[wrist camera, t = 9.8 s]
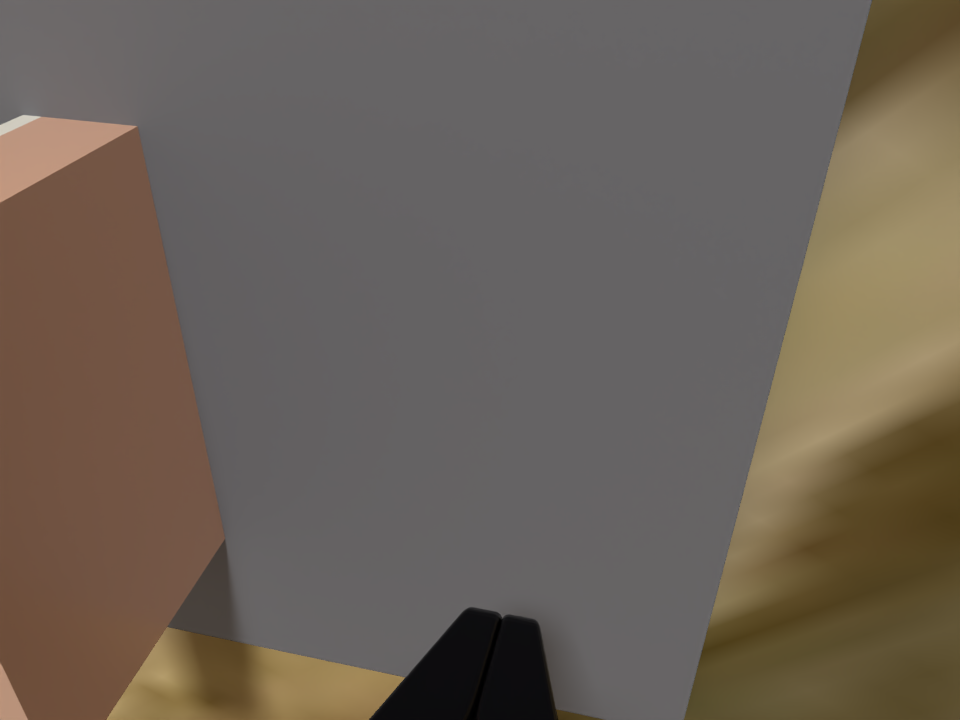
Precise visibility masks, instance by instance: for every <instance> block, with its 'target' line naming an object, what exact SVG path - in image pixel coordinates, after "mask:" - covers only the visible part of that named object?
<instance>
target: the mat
mask: <svg viewBox="0 0 960 720" xmlns="http://www.w3.org/2000/svg"><path fill="white" fill-rule="evenodd" d="M871 2H872V0H0V125H1V124H4V123H6V122H8V121H10V120H13V119H15V118H17V117H19V116H22V115H29V116H39V117H49V118H60V119H70V120H80V121H90V122H100V123H110V124H121V125H131V126H138V130H139V135H140V140H141V144H142V149H143V154H144V159H145V163H146V168H147V173H148V177H149V182H150V187H151V192H152V196H153V201H154V206H155V210H156V215H157V220H158V224H159V229H160V234H161V239H162V243H163V248H164V253H165V257H166V262H167V267H168V271H169V276H170V281H171V286H172V290H173V295H174V300H175V304H176V309H177V314H178V319H179V323H180V328H181V333H182V337H183V342H184V347H185V351H186V356H187V361H188V366H189V370H190V375H191V380H192V384H193V389H194V394H195V399H196V403H197V408H198V413H199V417H200V422H201V427H202V431H203V436H204V441H205V446H206V450H207V455H208V460H209V464H210V469H211V474H212V478H213V483H214V488H215V493H216V497H217V502H218V507H219V511H220V516H221V521H222V526H223V530H224V535H225V540H224V541H223V543H222V544H221V546H220V547H219V549H218V550H217V552H216V553H215V555H214V556H213V558H212V559H211V561H210V562H209V564H208V565H207V567H206V568H205V570H204V571H203V573H202V574H201V576H200V578H199V579H198V581H197V582H196V584H195V585H194V587H193V588H192V590H191V591H190V593H189V594H188V596H187V597H186V599H185V600H184V602H183V603H182V605H181V606H180V608H179V609H178V611H177V612H176V614H175V616H174V617H173V619H172V620H171V622H170V623H169V625H168V626H167V627H170V628H175V629H179V630H184V631H189V632H194V633H198V634H203V635H208V636H212V637H217V638H222V639H227V640H231V641H236V642H241V643H246V644H250V645H255V646H260V647H264V648H269V649H274V650H279V651H283V652H288V653H293V654H298V655H302V656H307V657H312V658H316V659H321V660H326V661H331V662H335V663H340V664H345V665H350V666H354V667H359V668H364V669H369V670H373V671H378V672H383V673H387V674H392V675H397V676H402V677H406V676H407V675H408V674H409V673H410V672H411V671H412V669H413V668H414V667H415V666H416V665H417V664H418V662H419V661H420V660H421V659H422V658H423V657H424V656H425V654H426V653H427V652H428V651H429V650H430V649H431V647H432V646H433V645H434V644H435V643H436V642H437V641H438V639H439V638H440V637H441V636H442V635H443V634H444V632H445V631H446V630H447V629H448V628H449V627H450V625H451V624H452V623H453V622H454V621H455V620H456V619H457V617H458V616H459V615H460V614H461V613H462V612H463V611H464V610H465V609H467V608H469V607H475V608H480V609H485V610H491V611H496V612H498V613H500V614H501V616H502V618H503V617H504V616H505V615H508V614H511V615H516V616H522V617H527V618H532V619H535V620H536V621H538V623H539V625H540V629H541V634H542V639H543V644H544V650H545V655H546V660H547V665H548V670H549V676H550V681H551V686H552V691H553V696H554V701H555V707H556V709H558V710H562V711H567V712H572V713H577V714H581V715H586V716H591V717H596V718H600V719H605V720H684V717H685V713H686V709H687V705H688V701H689V698H690V694H691V690H692V686H693V682H694V679H695V675H696V671H697V667H698V663H699V659H700V656H701V652H702V648H703V644H704V640H705V637H706V633H707V629H708V625H709V621H710V617H711V614H712V610H713V606H714V602H715V598H716V594H717V591H718V587H719V583H720V579H721V575H722V572H723V568H724V564H725V560H726V556H727V552H728V549H729V545H730V541H731V537H732V533H733V530H734V526H735V522H736V518H737V514H738V510H739V507H740V503H741V499H742V495H743V491H744V487H745V484H746V480H747V476H748V472H749V468H750V465H751V461H752V457H753V453H754V449H755V445H756V442H757V438H758V434H759V430H760V426H761V423H762V419H763V415H764V411H765V407H766V403H767V400H768V396H769V392H770V388H771V384H772V380H773V377H774V373H775V369H776V365H777V361H778V358H779V354H780V350H781V346H782V342H783V338H784V335H785V331H786V327H787V323H788V319H789V316H790V312H791V308H792V304H793V300H794V296H795V293H796V289H797V285H798V281H799V277H800V274H801V270H802V266H803V262H804V258H805V254H806V251H807V247H808V243H809V239H810V235H811V231H812V228H813V224H814V220H815V216H816V212H817V209H818V205H819V201H820V197H821V193H822V189H823V186H824V182H825V178H826V174H827V170H828V167H829V163H830V159H831V155H832V151H833V147H834V144H835V140H836V136H837V132H838V128H839V124H840V121H841V117H842V113H843V109H844V105H845V102H846V98H847V94H848V90H849V86H850V82H851V79H852V75H853V71H854V67H855V63H856V60H857V56H858V52H859V48H860V44H861V40H862V37H863V33H864V29H865V25H866V21H867V17H868V14H869V10H870V6H871Z"/></svg>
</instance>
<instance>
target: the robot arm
mask: <svg viewBox="0 0 960 720" xmlns="http://www.w3.org/2000/svg"><path fill="white" fill-rule="evenodd" d="M369 720H558V717H557V712H556V707H555V701H554V696H553V691H552V686H551V681H550V676H549V670H548V665H547V660H546V655H545V650H544V644H543V639H542V634H541V629H540V625H539V623H538V621H536V620H535V619H532V618H527V617H522V616H516V615H511V614H508V615H505V616H504V617H503V618H502V616H501V614H500V613H498V612H496V611H491V610H485V609H480V608H475V607H469V608H467V609H465V610H464V611H463V612H462V613H461V614H460V615H459V616H458V617H457V619H456V620H455V621H454V622H453V623H452V624H451V625H450V627H449V628H448V629H447V630H446V631H445V632H444V634H443V635H442V636H441V637H440V638H439V639H438V641H437V642H436V643H435V644H434V645H433V646H432V647H431V649H430V650H429V651H428V652H427V653H426V654H425V656H424V657H423V658H422V659H421V660H420V661H419V662H418V664H417V665H416V666H415V667H414V668H413V669H412V671H411V672H410V673H409V674H408V675H407V676H406V678H405V679H404V680H403V681H402V682H401V683H400V684H399V686H398V687H397V688H396V689H395V690H394V691H393V693H392V694H391V695H390V696H389V697H388V698H387V700H386V701H385V702H384V703H383V704H382V705H381V706H380V708H379V709H378V710H377V711H376V712H375V713H374V715H373V716H372V717H371V718H370V719H369Z"/></svg>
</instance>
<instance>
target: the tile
mask: <svg viewBox="0 0 960 720" xmlns="http://www.w3.org/2000/svg"><path fill="white" fill-rule="evenodd" d="M224 540H225V535H224V530H223V526H222V521H221V516H220V511H219V507H218V502H217V497H216V493H215V488H214V483H213V478H212V474H211V469H210V464H209V460H208V455H207V450H206V446H205V441H204V436H203V431H202V427H201V422H200V417H199V413H198V408H197V403H196V399H195V394H194V389H193V384H192V380H191V375H190V370H189V366H188V361H187V356H186V351H185V347H184V342H183V337H182V333H181V328H180V323H179V319H178V314H177V309H176V304H175V300H174V295H173V290H172V286H171V281H170V276H169V271H168V267H167V262H166V257H165V253H164V248H163V243H162V239H161V234H160V229H159V224H158V220H157V215H156V210H155V206H154V201H153V196H152V192H151V187H150V182H149V177H148V173H147V168H146V163H145V159H144V154H143V149H142V144H141V140H140V135H139V130H138V126H131V125H121V124H110V123H100V122H90V121H80V120H70V119H60V118H49V117H39V116H29V115H22V116H19V117H17V118H15V119H13V120H10V121H8V122H6V123H4V124H1V125H0V720H106V719H107V717H108V716H109V714H110V713H111V711H112V710H113V708H114V707H115V705H116V704H117V702H118V701H119V699H120V698H121V696H122V695H123V693H124V692H125V690H126V688H127V687H128V685H129V684H130V682H131V681H132V679H133V678H134V676H135V675H136V673H137V672H138V670H139V669H140V667H141V666H142V664H143V663H144V661H145V660H146V658H147V657H148V655H149V654H150V652H151V650H152V649H153V647H154V646H155V644H156V643H157V641H158V640H159V638H160V637H161V635H162V634H163V632H164V631H165V629H166V628H167V626H168V625H169V623H170V622H171V620H172V619H173V617H174V616H175V614H176V612H177V611H178V609H179V608H180V606H181V605H182V603H183V602H184V600H185V599H186V597H187V596H188V594H189V593H190V591H191V590H192V588H193V587H194V585H195V584H196V582H197V581H198V579H199V578H200V576H201V574H202V573H203V571H204V570H205V568H206V567H207V565H208V564H209V562H210V561H211V559H212V558H213V556H214V555H215V553H216V552H217V550H218V549H219V547H220V546H221V544H222V543H223V541H224Z"/></svg>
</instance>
